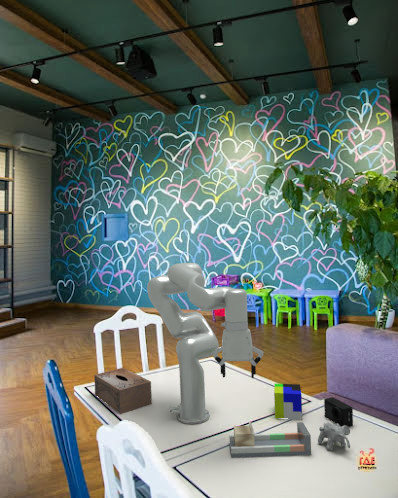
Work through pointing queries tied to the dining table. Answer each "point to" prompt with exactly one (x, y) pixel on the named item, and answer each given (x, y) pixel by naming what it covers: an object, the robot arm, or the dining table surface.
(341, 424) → the digital camera
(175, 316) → the robot arm
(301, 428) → the grey angled bar
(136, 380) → the tissue box cover
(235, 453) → the grey metal rail
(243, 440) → the beige rectangular block
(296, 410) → the puzzle toy
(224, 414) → the dining table surface
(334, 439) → the elephant statuette
